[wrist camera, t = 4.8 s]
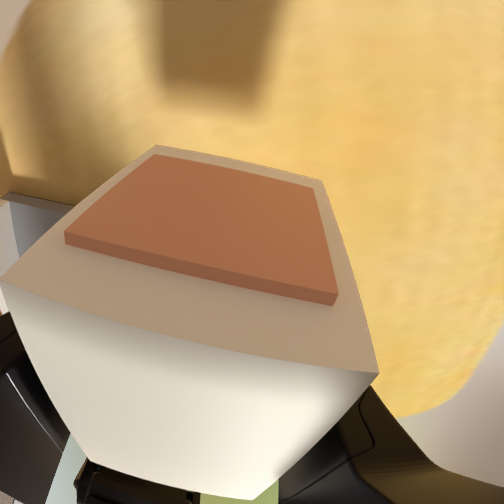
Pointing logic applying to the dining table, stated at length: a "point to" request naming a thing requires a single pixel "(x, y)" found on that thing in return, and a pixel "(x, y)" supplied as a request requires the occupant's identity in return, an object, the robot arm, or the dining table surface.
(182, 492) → the robot arm
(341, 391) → the carton
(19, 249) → the grey drawer
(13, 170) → the dining table surface
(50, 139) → the dining table surface
